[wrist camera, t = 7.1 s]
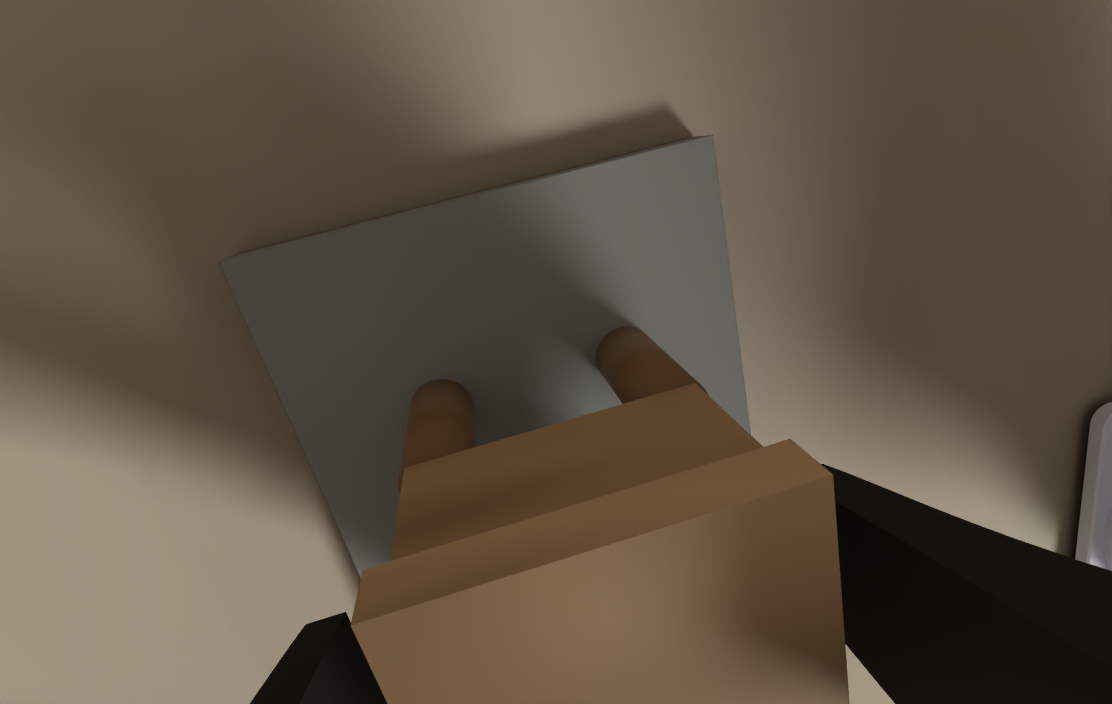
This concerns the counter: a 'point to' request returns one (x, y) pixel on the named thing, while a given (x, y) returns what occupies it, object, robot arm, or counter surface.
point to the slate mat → (489, 314)
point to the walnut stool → (607, 556)
